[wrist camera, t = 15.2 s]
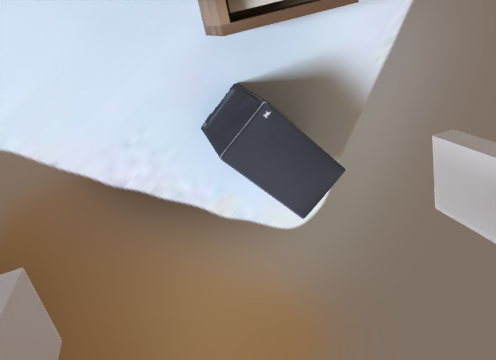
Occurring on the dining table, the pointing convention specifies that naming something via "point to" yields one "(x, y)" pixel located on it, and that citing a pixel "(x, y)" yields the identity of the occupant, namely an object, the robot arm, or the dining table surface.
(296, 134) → the small box
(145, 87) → the dining table surface
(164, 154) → the dining table surface
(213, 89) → the dining table surface
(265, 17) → the crate
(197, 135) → the dining table surface
